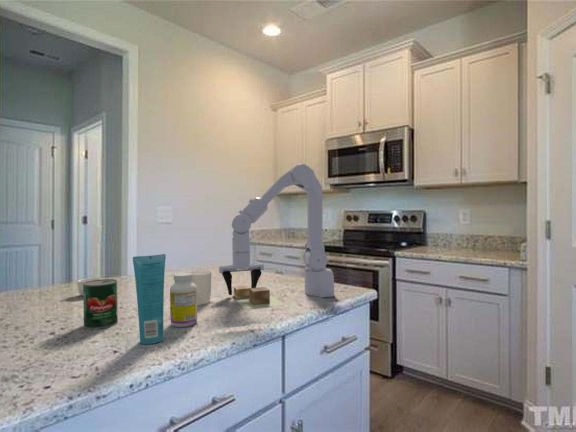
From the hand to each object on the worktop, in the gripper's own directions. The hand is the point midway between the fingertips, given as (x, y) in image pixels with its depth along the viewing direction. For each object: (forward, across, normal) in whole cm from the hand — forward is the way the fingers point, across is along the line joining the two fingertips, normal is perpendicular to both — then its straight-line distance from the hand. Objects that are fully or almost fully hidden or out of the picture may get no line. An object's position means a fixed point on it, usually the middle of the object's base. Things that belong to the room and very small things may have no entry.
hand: (241, 293), depth 121 cm
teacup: (+2, +47, -28) cm, 55 cm away
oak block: (+2, 0, 0) cm, 2 cm away
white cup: (+2, +14, +2) cm, 14 cm away
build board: (+2, -3, +10) cm, 11 cm away
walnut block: (+1, -3, +10) cm, 11 cm away
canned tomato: (+2, +40, +12) cm, 42 cm away
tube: (+2, +28, +30) cm, 41 cm away
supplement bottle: (+2, +20, +20) cm, 28 cm away
